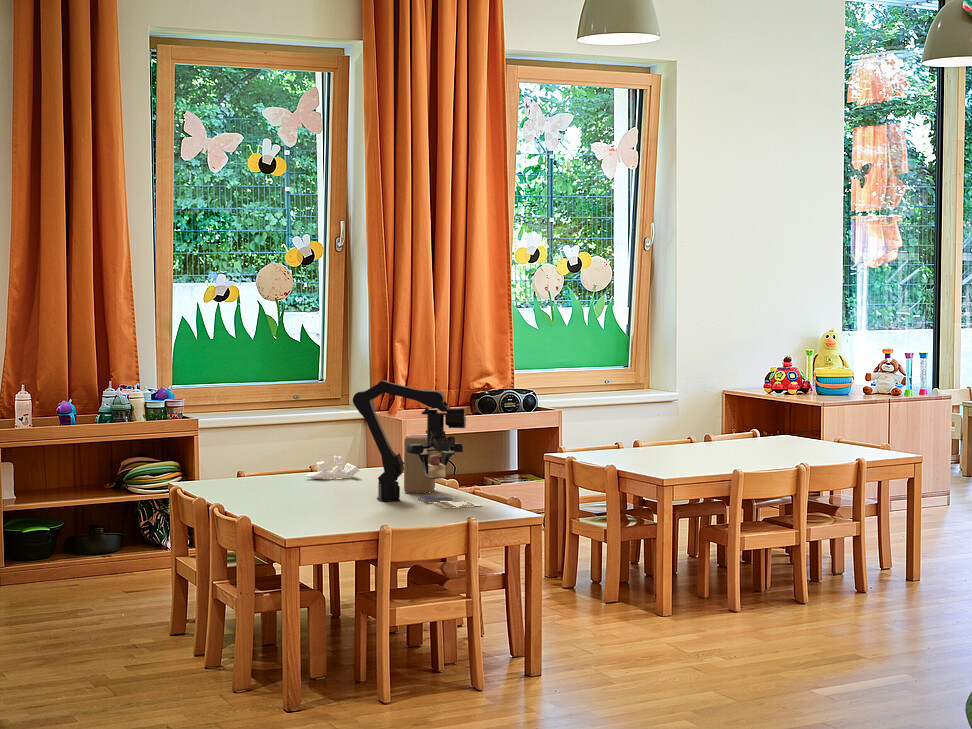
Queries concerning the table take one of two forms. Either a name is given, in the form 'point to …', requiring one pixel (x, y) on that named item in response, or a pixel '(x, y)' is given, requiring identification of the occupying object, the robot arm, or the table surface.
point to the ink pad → (434, 498)
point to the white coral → (334, 470)
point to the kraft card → (448, 505)
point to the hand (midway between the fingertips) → (434, 473)
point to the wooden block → (416, 468)
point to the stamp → (435, 468)
